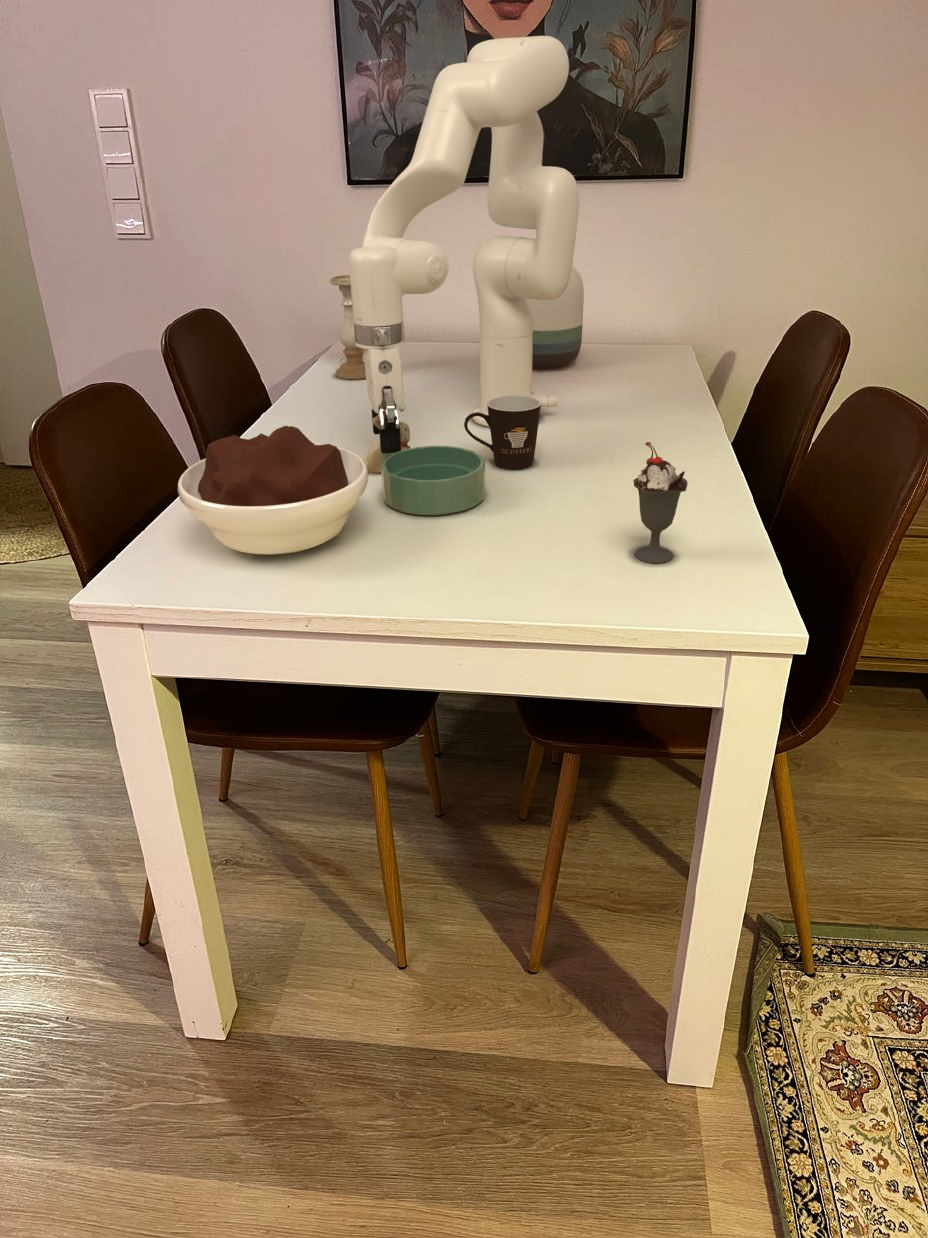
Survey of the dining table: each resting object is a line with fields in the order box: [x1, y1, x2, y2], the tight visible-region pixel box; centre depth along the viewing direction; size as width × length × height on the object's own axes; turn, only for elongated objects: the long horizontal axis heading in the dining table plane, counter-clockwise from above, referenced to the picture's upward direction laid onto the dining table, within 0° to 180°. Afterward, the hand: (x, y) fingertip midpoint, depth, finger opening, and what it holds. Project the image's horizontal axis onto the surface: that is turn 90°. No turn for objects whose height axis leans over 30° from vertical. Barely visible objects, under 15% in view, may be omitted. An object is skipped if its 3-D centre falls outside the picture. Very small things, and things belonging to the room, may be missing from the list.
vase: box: [525, 265, 585, 369], centre depth 198 cm, size 17×17×24 cm
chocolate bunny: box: [364, 408, 411, 474], centre depth 146 cm, size 6×8×10 cm
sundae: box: [632, 441, 689, 564], centre depth 114 cm, size 7×7×15 cm
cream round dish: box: [176, 425, 369, 556], centre depth 121 cm, size 25×25×15 cm
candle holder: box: [329, 274, 366, 380], centre depth 195 cm, size 9×9×20 cm
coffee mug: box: [463, 395, 542, 471], centre depth 147 cm, size 12×9×10 cm
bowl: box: [381, 445, 486, 516], centre depth 135 cm, size 15×15×6 cm
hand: (386, 442), depth 147 cm, fingers open, 9 cm apart
